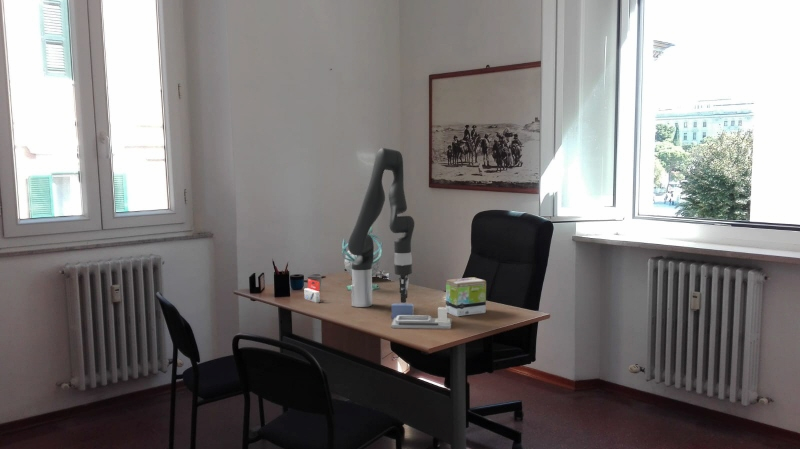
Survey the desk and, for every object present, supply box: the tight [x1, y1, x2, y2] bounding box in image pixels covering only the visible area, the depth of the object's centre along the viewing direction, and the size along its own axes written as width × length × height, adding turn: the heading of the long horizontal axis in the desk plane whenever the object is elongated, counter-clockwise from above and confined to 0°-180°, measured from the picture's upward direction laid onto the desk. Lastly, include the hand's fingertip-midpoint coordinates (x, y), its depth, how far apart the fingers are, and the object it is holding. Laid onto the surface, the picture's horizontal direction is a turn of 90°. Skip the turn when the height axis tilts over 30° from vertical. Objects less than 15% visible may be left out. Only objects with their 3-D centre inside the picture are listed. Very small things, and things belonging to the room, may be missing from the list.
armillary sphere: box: [341, 226, 383, 292], centre depth 343 cm, size 22×26×35 cm
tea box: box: [445, 277, 487, 317], centre depth 288 cm, size 15×10×15 cm, turn 117°
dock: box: [390, 306, 452, 330], centre depth 270 cm, size 24×12×7 cm, turn 84°
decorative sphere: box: [344, 248, 381, 277], centre depth 368 cm, size 20×20×20 cm
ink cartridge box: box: [303, 278, 321, 303], centre depth 317 cm, size 2×11×10 cm, turn 39°
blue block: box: [391, 302, 414, 320], centre depth 281 cm, size 9×4×6 cm, turn 84°
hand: (404, 300), depth 281 cm, fingers open, 8 cm apart
